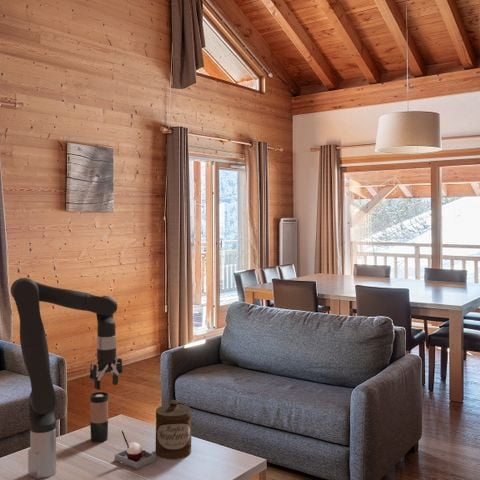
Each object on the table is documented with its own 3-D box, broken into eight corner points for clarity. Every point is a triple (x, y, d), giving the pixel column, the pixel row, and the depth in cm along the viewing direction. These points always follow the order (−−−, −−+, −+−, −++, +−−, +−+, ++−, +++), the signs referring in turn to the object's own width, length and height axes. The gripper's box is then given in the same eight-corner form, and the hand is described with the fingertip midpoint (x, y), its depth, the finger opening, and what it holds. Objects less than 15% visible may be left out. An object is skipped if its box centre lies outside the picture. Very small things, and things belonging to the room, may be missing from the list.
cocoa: (146, 458, 232) (148, 428, 232) (142, 464, 226) (143, 434, 225) (123, 455, 233) (125, 426, 233) (118, 461, 227) (120, 431, 227)
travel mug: (110, 436, 254) (110, 392, 254) (104, 443, 247) (104, 397, 246) (93, 435, 255) (93, 391, 254) (87, 442, 248) (87, 397, 247)
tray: (136, 469, 222) (136, 463, 222) (114, 460, 230) (114, 454, 230) (155, 461, 230) (155, 454, 230) (133, 452, 238) (133, 446, 238)
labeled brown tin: (156, 461, 230) (156, 407, 229) (154, 446, 244) (154, 395, 243) (193, 458, 233) (193, 405, 232) (189, 444, 247) (189, 393, 246)
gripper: (97, 351, 219) (97, 393, 220) (126, 345, 230) (126, 384, 231) (85, 348, 224) (85, 389, 225) (114, 342, 235) (114, 381, 236)
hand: (106, 387), depth 228 cm, fingers open, 8 cm apart
